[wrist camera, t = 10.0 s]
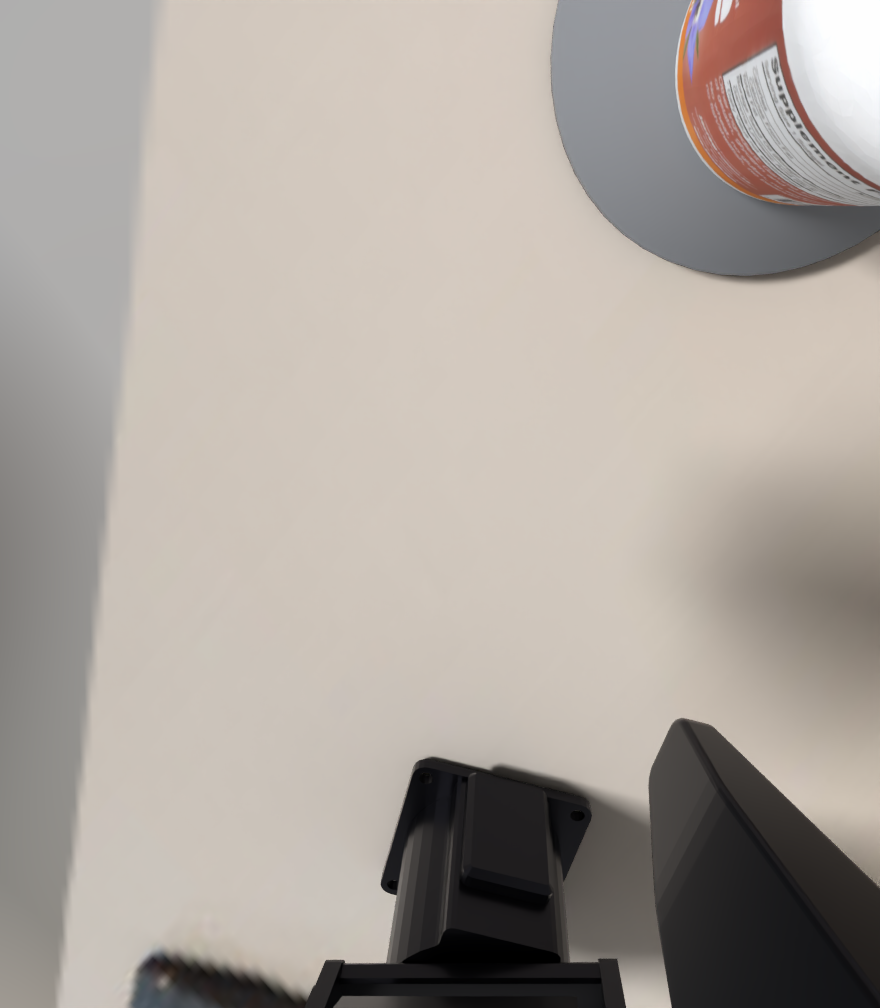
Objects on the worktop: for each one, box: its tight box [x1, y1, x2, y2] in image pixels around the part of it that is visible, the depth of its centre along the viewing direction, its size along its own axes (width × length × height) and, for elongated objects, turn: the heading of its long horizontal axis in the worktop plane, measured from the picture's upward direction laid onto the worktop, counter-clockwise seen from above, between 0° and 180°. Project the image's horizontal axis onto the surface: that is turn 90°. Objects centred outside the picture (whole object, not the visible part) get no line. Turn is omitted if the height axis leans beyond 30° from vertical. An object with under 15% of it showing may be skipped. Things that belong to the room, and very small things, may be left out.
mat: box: [551, 0, 880, 276], centre depth 17 cm, size 10×10×1 cm
